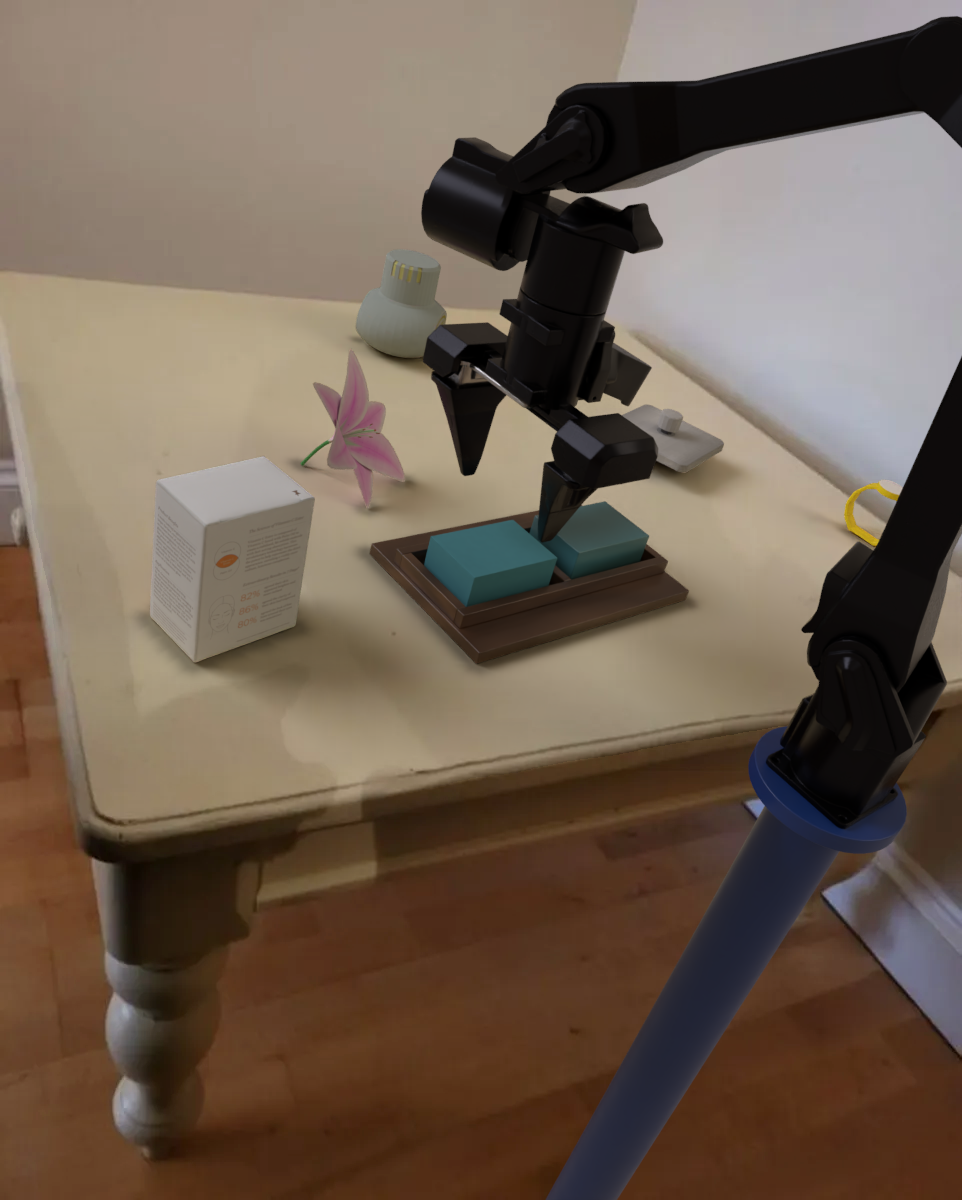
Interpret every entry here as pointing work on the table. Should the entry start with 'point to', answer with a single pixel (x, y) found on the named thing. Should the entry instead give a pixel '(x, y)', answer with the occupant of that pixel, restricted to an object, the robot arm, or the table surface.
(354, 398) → the lily
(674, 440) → the light switch
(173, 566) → the small box
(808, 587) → the table surface
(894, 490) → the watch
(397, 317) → the air freshener
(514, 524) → the pad
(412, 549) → the brown two-compartment tray
